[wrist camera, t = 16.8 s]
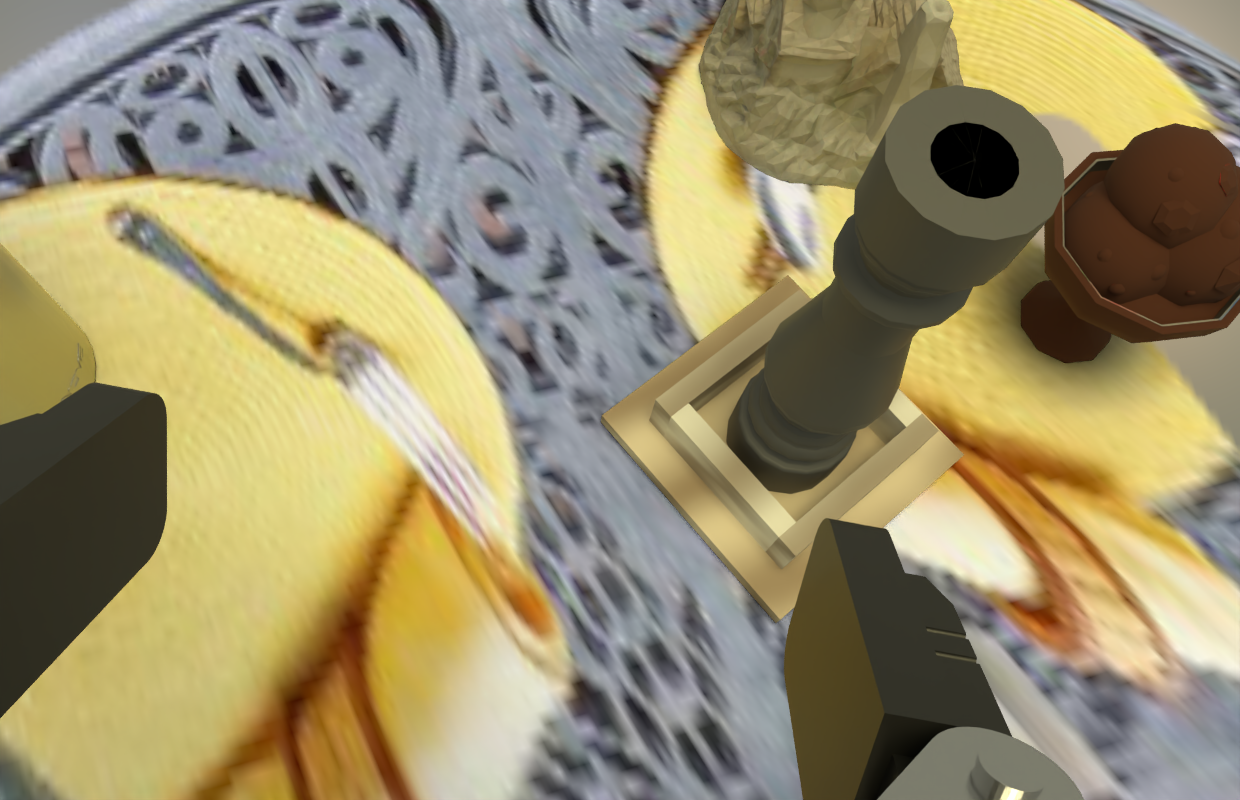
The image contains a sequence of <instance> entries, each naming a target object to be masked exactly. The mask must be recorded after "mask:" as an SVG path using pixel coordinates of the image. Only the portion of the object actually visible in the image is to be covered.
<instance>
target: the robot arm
mask: <svg viewBox="0 0 1240 800" xmlns="http://www.w3.org/2000/svg"><path fill="white" fill-rule="evenodd" d="M95 365H96V364H95V359H94V354H93V349H92V347H91V345H90V343H89V341H88V339H87V337H86V335H85V333H84V332H83V331H82V330H81V329H80V328H79V326H78V325H77V324H76V323H75V322H74V321H73V320H72V319H71V318H70V317H69V316H68V315H67V314H66V312H65V311H64V310H63V309H62V308H61V307H60V306H59V305H58V304H57V303H56V302H55V301H54V300H53V299H52V298H51V296H50V295H49V294H48V293H47V292H46V291H45V290H44V289H43V288H42V287H41V285H40V284H39V283H38V282H37V281H36V280H35V279H34V278H33V277H32V276H31V275H30V274H29V273H28V272H27V271H26V270H25V269H24V268H23V267H22V265H21V264H20V263H19V262H18V261H17V260H16V259H15V258H14V257H13V256H12V255H11V254H10V253H9V252H8V251H7V250H6V249H5V248H4V247H3V245H2V244H1V243H0V718H1V717H2V716H3V715H4V714H5V713H6V711H7V710H8V709H9V708H10V707H11V706H12V705H13V704H14V703H15V702H16V701H17V700H18V699H19V698H20V697H21V696H22V695H23V693H24V692H25V691H26V690H27V689H28V688H29V687H30V686H31V685H32V684H33V683H34V682H35V681H36V680H37V679H38V678H39V676H40V675H41V674H42V673H43V672H44V671H45V670H46V669H47V668H48V667H49V666H50V665H51V664H52V663H53V662H54V661H55V659H56V658H57V657H58V656H59V655H60V654H61V653H62V652H63V651H64V650H65V649H66V648H67V647H68V646H69V645H70V644H71V642H72V641H73V640H74V639H75V638H76V637H77V636H78V635H79V634H80V633H81V632H82V631H83V630H84V629H85V628H86V627H87V626H88V624H89V623H90V622H91V621H92V620H93V619H94V618H95V617H96V616H97V615H98V614H99V613H100V612H101V611H102V610H103V609H104V607H105V606H106V605H107V604H108V603H109V602H110V601H111V600H112V599H113V598H114V597H115V596H116V595H117V594H118V593H119V592H120V590H121V589H122V588H123V587H124V586H125V585H126V584H127V583H128V582H129V581H130V580H131V579H132V578H133V577H134V576H135V575H136V574H137V572H138V571H139V570H140V569H141V568H142V567H143V566H144V565H145V564H146V563H147V562H148V561H149V559H150V558H151V557H152V555H153V554H154V552H155V550H156V548H157V546H158V544H159V542H160V539H161V536H162V533H163V530H164V526H165V521H166V514H167V414H166V407H165V404H164V401H163V399H162V398H161V397H160V396H159V395H158V394H155V393H150V392H144V391H139V390H133V389H128V388H122V387H117V386H111V385H106V384H100V383H94V381H95ZM965 637H966V632H965V630H964V628H963V626H962V624H961V621H960V619H959V617H958V615H957V612H956V610H955V608H954V606H953V604H952V603H951V602H950V601H949V600H948V599H947V598H946V597H945V596H944V595H943V594H942V593H941V592H940V591H939V590H938V589H937V588H936V587H935V586H934V585H933V584H932V583H931V582H930V581H929V580H928V579H927V578H926V577H923V576H918V575H912V574H907V573H905V572H904V570H903V567H902V565H901V562H900V559H899V557H898V554H897V552H896V549H895V547H894V544H893V541H892V539H891V536H890V534H889V532H888V531H887V530H886V529H884V528H879V527H873V526H868V525H862V524H857V523H851V522H846V521H840V520H835V519H829V518H825V519H824V520H823V521H822V522H821V524H820V526H819V528H818V530H817V533H816V536H815V539H814V542H813V546H812V549H811V553H810V556H809V559H808V563H807V566H806V570H805V573H804V577H803V580H802V584H801V587H800V591H799V594H798V597H797V601H796V604H795V608H794V611H793V615H792V618H791V622H790V625H789V630H788V634H787V640H786V647H785V658H784V675H785V683H786V690H787V696H788V703H789V709H790V716H791V723H792V729H793V736H794V742H795V749H796V755H797V762H798V769H799V775H800V782H801V788H802V795H803V800H1084V799H1083V797H1082V794H1081V792H1080V791H1079V789H1078V788H1077V786H1076V785H1075V783H1074V782H1073V781H1072V780H1071V779H1070V777H1069V776H1068V775H1067V774H1066V773H1065V772H1064V771H1063V770H1062V769H1061V768H1060V767H1059V766H1058V765H1057V764H1056V763H1054V762H1053V761H1052V760H1051V759H1049V758H1048V757H1047V756H1045V755H1044V754H1043V753H1041V752H1039V751H1038V750H1036V749H1035V748H1033V747H1032V746H1030V745H1028V744H1026V743H1024V742H1022V741H1020V740H1018V739H1016V738H1013V737H1012V735H1011V733H1010V731H1009V729H1008V726H1007V724H1006V722H1005V720H1004V718H1003V715H1002V713H1001V711H1000V709H999V706H998V704H997V702H996V700H995V697H994V695H993V693H992V691H991V688H990V686H989V684H988V682H987V679H986V677H985V675H984V673H983V671H982V668H981V666H980V664H976V659H977V657H976V655H975V653H974V650H973V648H972V646H971V644H970V641H969V640H968V639H965Z"/></svg>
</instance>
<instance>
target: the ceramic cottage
mask: <svg viewBox="0 0 1240 800" xmlns="http://www.w3.org/2000/svg"><path fill="white" fill-rule="evenodd" d="M952 19H953V10H952V8H951V5H950V3H949V2H948V1H947V0H727V1H726V2H725V4H724V6H723V7H722V9H721V12H720V15H719V18H718V20H717V21H716V23H715V25H714V28H713V30H712V32H711V34H710V35H709V38H708V39H707V41H706V44H705V46H704V50H703V54H702V57H701V60H700V64H699V68H700V73H701V80H702V82H701V84H703V86H704V90H705V92H706V101H707V107H708V110H709V113H710V115H711V118H712V120H713V121H714V122H713V123H714V124H715V125H716V131H717V133H718V135H719V136H720V138H721V139H722V141H723V142H724V143H725V145H726V146H727V147H728V148H729V149H730V150H732V151H733V152H734V153H735V154H736V155H738V156H739V157H740V158H742V159H743V160H744V161H745V162H747V163H748V164H750V165H751V166H753V167H754V168H757V169H758V170H759V171H761V172H763V173H765V174H767V175H769V176H771V177H774V178H776V179H778V180H782V181H788V182H789V183H803V184H814V185H819V184H822V185H824V186H838V187H841V188H848V189H856V187H857V185H858V183H859V181H860V179H861V177H862V176H863V174H864V172H865V170H866V168H867V166H868V164H869V162H870V160H871V159H872V157H873V155H874V153H875V151H876V149H877V147H878V145H879V143H880V141H881V140H882V138H883V136H884V134H885V132H886V130H887V128H888V127H889V125H890V123H891V121H892V120H893V118H894V116H895V114H896V113H897V111H898V109H899V107H900V106H902V105H903V104H905V103H906V102H908V101H909V100H911V99H913V98H914V97H916V96H917V95H919V94H920V93H922V92H923V91H925V90H931V89H937V88H942V87H948V86H953V85H960V86H964V85H963V80H962V77H961V75H960V69H959V55H958V51H957V40H956V38H955V35H954V33H953V30H952V29H951V28H950V24H951V22H952Z"/></svg>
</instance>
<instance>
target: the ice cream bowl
mask: <svg viewBox="0 0 1240 800" xmlns="http://www.w3.org/2000/svg"><path fill="white" fill-rule="evenodd" d="M1064 187H1065V189H1064V191H1063V194H1062V196H1061V198H1060V200H1059V202H1058V204H1057V207H1056V209H1055V211H1054V213H1053V215H1052V216H1051V217H1050V219H1049V220H1048V221H1047V222H1046V223H1045V273H1046V274H1047V276H1048V277H1049V278H1050V280H1049V281H1043V282H1040V283H1038V284H1037V285H1036V286H1035V287H1034V288H1033V289H1032V290H1031V291H1030V292H1029V293H1028V294H1027V295H1026V296H1025V297H1024V298H1023V299H1022V300H1021V326H1022V328H1023V329H1024V331H1025V332H1026V334H1027V335H1028V336H1029V338H1030V339H1031V341H1032V342H1033V344H1034V345H1035V347H1036V348H1037V349H1038V350H1039V351H1041V352H1043V353H1045V354H1047V355H1050V356H1052V357H1054V358H1056V359H1058V360H1060V361H1062V362H1064V363H1071V362H1080V361H1089V360H1093V359H1094V358H1095V357H1096V356H1097V355H1098V354H1099V353H1100V351H1101V350H1102V349H1103V348H1104V347H1105V346H1106V345H1107V344H1108V343H1109V341H1110V339H1111V334H1114V335H1116V336H1118V337H1120V338H1122V339H1124V340H1126V341H1128V342H1130V343H1140V342H1152V341H1161V340H1170V339H1179V338H1187V337H1196V336H1205V335H1208V334H1211V333H1213V332H1216V331H1219V330H1221V329H1224V328H1227V327H1228V326H1229V325H1230V323H1231V322H1232V321H1233V320H1234V318H1236V316H1237V315H1238V314H1239V313H1240V167H1238V166H1236V162H1235V159H1234V157H1233V155H1232V153H1231V152H1230V151H1229V150H1228V149H1227V148H1226V147H1225V146H1224V145H1223V144H1222V143H1221V142H1220V141H1219V140H1218V139H1217V138H1216V137H1215V136H1214V135H1213V134H1211V133H1210V132H1209V131H1208V130H1203V129H1199V128H1196V127H1189V126H1185V125H1180V124H1176V123H1175V124H1171V125H1168V126H1164V127H1161V128H1155V129H1153V130H1151V131H1147V132H1144V133H1142V134H1140V135H1138V136H1136V137H1134V138H1133V139H1132V141H1131V142H1130V143H1129V144H1128V145H1127V147H1126V148H1125V149H1124V150H1116V151H1104V152H1093V153H1091V154H1090V155H1089V156H1088V157H1087V158H1086V159H1085V160H1084V161H1083V162H1082V163H1081V164H1080V165H1079V166H1078V167H1077V168H1076V169H1075V170H1074V171H1073V172H1072V173H1071V174H1069V175H1068V176H1067V177H1066V178H1065V179H1064Z"/></svg>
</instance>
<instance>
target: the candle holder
mask: <svg viewBox="0 0 1240 800" xmlns="http://www.w3.org/2000/svg"><path fill="white" fill-rule="evenodd" d="M1064 189H1065V187H1064V170H1063V158H1062V156H1061V154H1060V153H1059V151H1058V149H1057V147H1056V145H1055V143H1054V141H1053V139H1052V137H1051V135H1050V133H1049V131H1048V130H1047V129H1046V128H1045V127H1044V126H1043V125H1042V124H1041V123H1040V122H1039V121H1038V120H1037V119H1036V118H1035V117H1034V116H1033V115H1032V114H1031V113H1029V112H1028V111H1027V110H1026V109H1025V108H1024V107H1023V106H1021V105H1019V104H1017V103H1015V102H1013V101H1011V100H1009V99H1007V98H1005V97H1003V96H1001V95H999V94H997V93H995V92H993V91H991V90H985V89H979V88H972V87H966V86H960V85H953V86H948V87H942V88H937V89H931V90H925V91H923V92H922V93H920V94H919V95H917V96H916V97H914V98H913V99H911V100H909V101H908V102H906V103H905V104H903V105H902V106H900V107H899V109H898V111H897V113H896V114H895V116H894V118H893V120H892V121H891V123H890V125H889V127H888V128H887V130H886V132H885V134H884V136H883V138H882V140H881V141H880V143H879V145H878V147H877V149H876V151H875V153H874V155H873V157H872V159H871V160H870V162H869V164H868V166H867V168H866V170H865V172H864V174H863V176H862V177H861V179H860V181H859V183H858V185H857V187H856V189H855V204H854V214H853V215H852V216H851V217H849V218H848V219H847V221H846V223H845V224H844V226H843V228H842V230H841V231H840V233H839V235H838V237H837V239H836V240H835V242H834V256H833V271H834V274H835V276H836V277H835V278H834V280H833V282H832V284H831V285H830V286H829V287H828V288H826V289H825V290H824V291H822V292H821V293H820V294H818V295H817V296H816V297H814V298H813V299H812V300H811V301H809V302H808V303H807V304H805V305H804V306H803V307H801V308H800V309H799V310H797V311H796V312H795V313H793V314H792V315H790V316H789V317H788V318H786V319H785V320H784V321H782V322H781V323H780V324H779V326H778V328H777V329H776V331H775V333H774V335H773V336H772V338H771V340H770V342H769V343H768V345H767V347H766V350H765V363H764V368H763V369H761V370H760V372H759V373H758V374H757V375H755V376H754V377H752V378H751V379H750V381H749V382H748V384H747V386H746V388H745V389H744V391H743V393H742V395H741V396H740V398H739V400H738V402H737V404H736V406H735V408H734V410H733V412H732V414H731V416H730V418H729V420H728V428H727V439H726V442H727V445H728V447H729V448H730V449H731V451H732V452H733V453H734V454H735V455H736V456H737V457H738V458H739V459H740V460H741V462H742V463H743V464H744V465H745V466H746V467H747V468H748V469H749V470H750V472H751V473H752V474H753V475H754V476H755V477H756V478H757V479H758V480H759V481H760V483H761V484H762V485H763V486H764V487H765V488H766V489H767V490H768V491H772V492H779V493H786V494H793V493H797V492H801V491H805V490H809V489H812V488H814V487H815V486H816V485H818V484H819V483H820V482H821V481H823V480H824V479H825V478H827V477H828V476H829V475H830V474H831V473H832V472H833V470H834V469H835V468H836V467H837V466H838V465H839V464H840V463H841V462H842V461H843V459H844V458H845V457H846V456H847V454H848V452H849V450H850V448H851V446H852V444H853V442H854V440H855V438H856V433H857V431H858V430H860V429H864V428H866V427H867V426H868V425H870V424H871V423H872V422H873V421H875V420H876V419H877V418H879V417H880V416H881V415H883V414H884V413H885V412H886V411H887V410H888V408H889V406H890V404H891V402H892V400H893V398H894V396H895V394H896V392H897V390H898V388H899V385H900V382H901V378H902V374H903V370H904V366H905V362H906V359H907V355H908V352H909V348H910V344H911V341H912V338H913V336H914V335H915V334H916V333H917V332H918V330H919V329H922V328H927V327H931V326H936V325H939V324H941V323H943V322H944V321H945V320H946V319H948V318H949V317H950V316H952V315H953V314H954V313H956V312H957V311H958V310H960V309H961V308H962V307H963V306H964V304H965V302H966V300H967V298H968V296H969V294H970V292H971V290H972V288H973V287H974V286H979V285H984V284H985V283H986V282H988V281H989V280H990V279H992V278H993V277H994V276H996V275H997V274H998V273H1000V272H1001V271H1002V270H1004V269H1005V268H1006V267H1007V266H1008V265H1009V264H1010V263H1011V262H1012V260H1013V259H1014V258H1015V257H1016V256H1017V255H1018V254H1019V252H1020V251H1021V250H1022V249H1023V248H1024V247H1025V246H1026V245H1027V243H1028V242H1029V241H1030V240H1031V239H1032V238H1033V237H1034V236H1035V234H1036V233H1037V232H1038V231H1039V230H1040V229H1041V228H1042V226H1043V225H1044V224H1045V223H1046V222H1047V221H1048V220H1049V219H1050V217H1051V216H1052V215H1053V213H1054V211H1055V209H1056V207H1057V204H1058V202H1059V200H1060V198H1061V196H1062V194H1063V191H1064Z"/></svg>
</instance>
